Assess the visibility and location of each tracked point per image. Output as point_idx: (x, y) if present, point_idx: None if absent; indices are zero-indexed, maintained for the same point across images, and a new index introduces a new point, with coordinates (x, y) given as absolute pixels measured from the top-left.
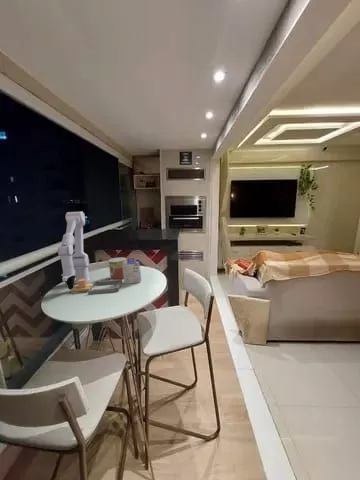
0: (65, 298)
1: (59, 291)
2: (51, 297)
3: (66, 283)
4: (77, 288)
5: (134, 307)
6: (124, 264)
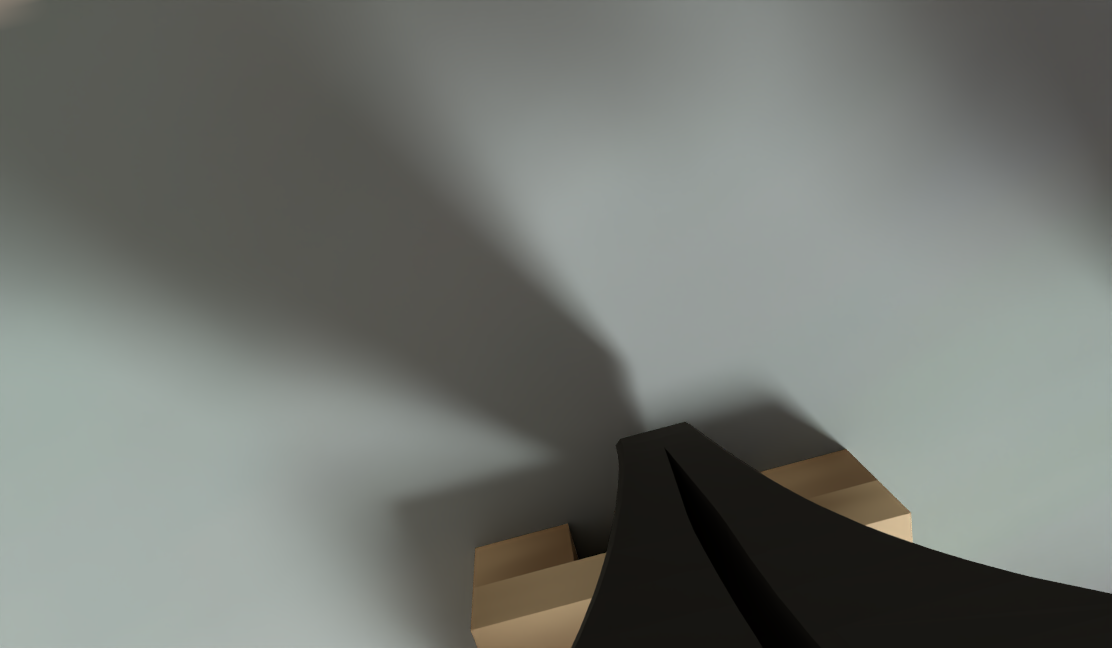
0: (135, 605)
1: (610, 63)
2: (67, 137)
3: (595, 606)
4: None
5: None
6: None
